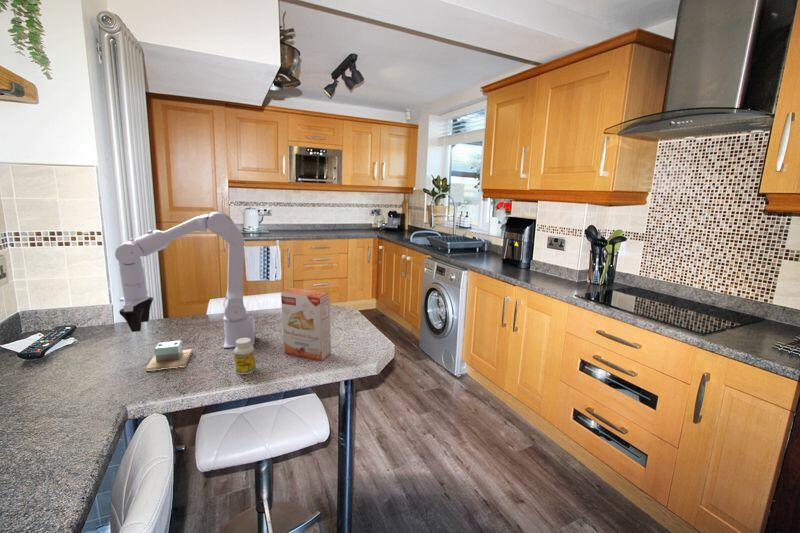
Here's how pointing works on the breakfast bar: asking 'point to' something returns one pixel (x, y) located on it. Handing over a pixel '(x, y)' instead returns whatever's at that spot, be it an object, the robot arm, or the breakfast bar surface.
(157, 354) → the housing
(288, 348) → the cracker box
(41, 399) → the breakfast bar surface
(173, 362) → the plate
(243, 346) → the supplement bottle
